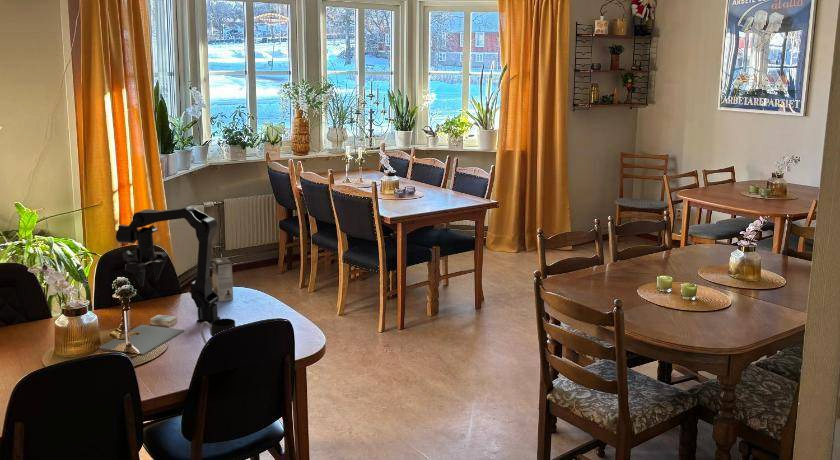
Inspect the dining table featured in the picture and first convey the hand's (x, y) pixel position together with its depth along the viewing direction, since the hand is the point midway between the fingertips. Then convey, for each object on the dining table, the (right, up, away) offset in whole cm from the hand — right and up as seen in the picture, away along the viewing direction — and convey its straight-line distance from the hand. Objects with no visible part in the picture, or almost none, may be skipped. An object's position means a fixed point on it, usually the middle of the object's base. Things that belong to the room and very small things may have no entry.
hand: (149, 283), depth 295 cm
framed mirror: (+7, -15, -5) cm, 17 cm away
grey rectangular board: (+5, -19, -21) cm, 29 cm away
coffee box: (+22, -8, +26) cm, 35 cm away
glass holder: (+37, -24, -42) cm, 61 cm away
